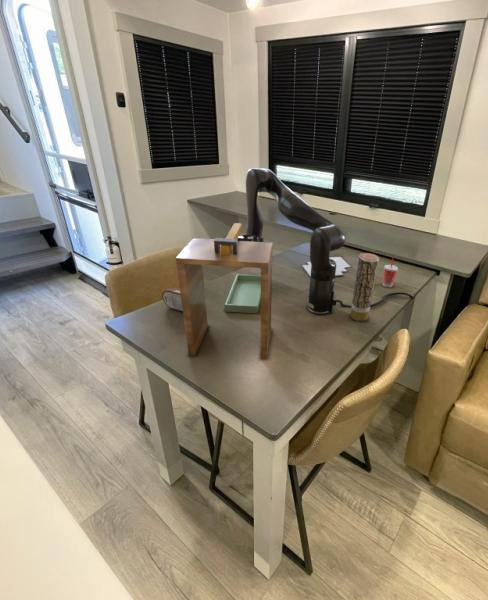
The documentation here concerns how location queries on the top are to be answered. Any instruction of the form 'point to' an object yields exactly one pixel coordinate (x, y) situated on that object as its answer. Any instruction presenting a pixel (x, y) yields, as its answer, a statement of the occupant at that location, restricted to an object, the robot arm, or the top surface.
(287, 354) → the top surface
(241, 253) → the shelf stand
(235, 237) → the rod
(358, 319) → the bark covered firewood piece
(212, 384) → the top surface
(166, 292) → the tin
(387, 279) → the beverage cup
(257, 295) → the tray
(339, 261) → the paper stack
